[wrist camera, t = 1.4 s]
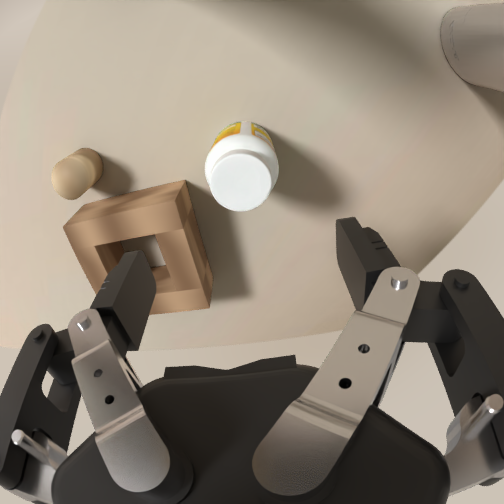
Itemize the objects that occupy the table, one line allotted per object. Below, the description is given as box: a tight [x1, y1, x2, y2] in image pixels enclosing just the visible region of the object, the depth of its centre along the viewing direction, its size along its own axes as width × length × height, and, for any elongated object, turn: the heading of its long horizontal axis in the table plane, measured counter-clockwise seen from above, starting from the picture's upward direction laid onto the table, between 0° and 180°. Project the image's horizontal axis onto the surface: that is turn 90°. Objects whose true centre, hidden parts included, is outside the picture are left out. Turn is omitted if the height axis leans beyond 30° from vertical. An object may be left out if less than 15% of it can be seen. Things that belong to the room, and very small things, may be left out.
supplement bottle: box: [205, 121, 279, 212], centre depth 23 cm, size 5×5×10 cm
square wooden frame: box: [63, 180, 213, 315], centre depth 31 cm, size 12×12×5 cm
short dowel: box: [52, 148, 103, 200], centre depth 26 cm, size 4×4×4 cm
